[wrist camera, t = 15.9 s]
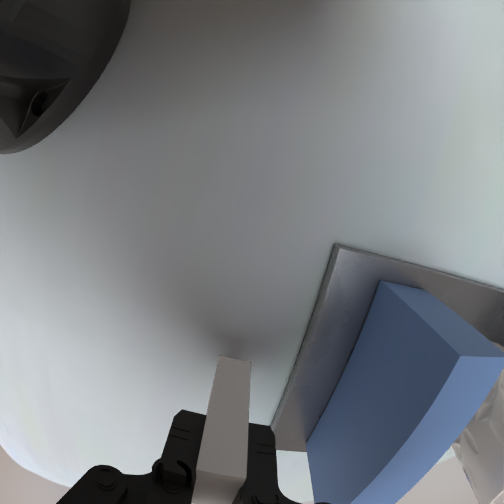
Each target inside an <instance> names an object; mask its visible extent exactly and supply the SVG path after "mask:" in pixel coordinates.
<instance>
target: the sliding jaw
mask: <svg viewBox="0 0 504 504" xmlns="http://www.w3.org/2000/svg"><path fill="white" fill-rule="evenodd" d="M503 368H504V352H502V351H501V350H500V349H499V348H498V347H497V346H495V345H494V344H493V343H492V342H491V341H490V340H488V339H487V338H486V337H485V336H484V335H482V334H481V333H480V332H479V331H477V330H476V329H475V328H474V327H473V326H471V325H470V324H469V323H468V322H466V321H465V320H464V319H463V318H461V317H460V316H459V315H458V314H456V313H455V312H454V311H452V310H451V309H450V308H449V307H447V306H446V305H445V304H443V303H442V302H441V301H439V300H438V299H437V298H436V297H434V296H433V295H432V294H430V293H429V292H428V291H426V290H422V289H418V288H413V287H409V286H404V285H400V284H396V283H391V282H387V281H382V280H380V282H379V285H378V288H377V291H376V294H375V297H374V299H373V302H372V305H371V307H370V310H369V313H368V315H367V318H366V321H365V323H364V326H363V328H362V331H361V333H360V335H359V338H358V340H357V343H356V345H355V347H354V350H353V352H352V354H351V357H350V359H349V361H348V363H347V365H346V368H345V370H344V372H343V374H342V376H341V378H340V381H339V383H338V385H337V387H336V389H335V391H334V393H333V395H332V397H331V399H330V401H329V403H328V405H327V407H326V409H325V411H324V412H323V414H322V416H321V418H320V420H319V422H318V424H317V425H316V427H315V429H314V431H313V433H312V434H311V436H310V438H309V440H308V441H307V443H306V449H307V456H308V462H309V469H310V475H311V482H312V489H313V496H314V502H315V503H318V502H327V503H331V504H395V503H396V502H397V501H398V500H399V499H401V498H402V497H403V496H404V495H405V494H406V493H407V492H408V491H409V490H410V489H411V488H412V487H413V486H414V485H415V484H416V483H417V482H418V481H419V480H420V479H421V478H422V477H423V476H424V475H425V474H426V473H427V472H428V471H429V470H430V469H431V468H432V467H433V466H434V465H435V464H436V462H437V461H438V460H439V459H440V458H441V457H442V456H443V455H444V453H445V452H446V451H447V450H448V449H449V447H450V446H451V445H452V444H453V443H454V441H455V440H456V439H457V438H458V436H459V435H460V434H461V432H462V431H463V430H464V428H465V427H466V426H467V424H468V423H469V422H470V420H471V419H472V417H473V416H474V415H475V413H476V412H477V410H478V409H479V407H480V406H481V404H482V403H483V401H484V400H485V398H486V397H487V395H488V394H489V392H490V390H491V389H492V387H493V385H494V384H495V382H496V380H497V379H498V377H499V375H500V373H501V372H502V370H503Z"/></svg>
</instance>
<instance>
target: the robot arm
mask: <svg viewBox="0 0 504 504" xmlns="http://www.w3.org/2000/svg"><path fill="white" fill-rule="evenodd" d="M130 1H131V0H0V154H9V153H16V152H19V151H22V150H25V149H27V148H29V147H31V146H33V145H35V144H37V143H38V142H40V141H41V140H43V139H44V138H45V137H47V136H48V135H49V134H50V133H52V132H53V131H54V130H55V129H56V128H57V127H58V126H60V125H61V124H62V123H63V122H64V121H65V120H66V119H67V118H68V117H69V115H70V114H71V113H72V112H73V111H74V110H75V109H76V108H77V106H78V105H79V104H80V103H81V102H82V100H83V99H84V98H85V97H86V95H87V94H88V93H89V91H90V90H91V89H92V87H93V86H94V84H95V83H96V81H97V80H98V79H99V77H100V75H101V74H102V72H103V71H104V69H105V68H106V66H107V64H108V62H109V61H110V59H111V57H112V55H113V53H114V51H115V49H116V47H117V45H118V43H119V41H120V38H121V36H122V34H123V31H124V28H125V25H126V22H127V19H128V14H129V9H130ZM250 373H251V362H248V361H243V360H238V359H233V358H228V357H224V356H220V355H219V359H218V364H217V368H216V372H215V377H214V381H213V386H212V390H211V395H210V399H209V404H208V409H207V414H206V415H203V414H199V413H195V412H190V411H186V410H183V409H182V410H181V411H180V412H179V413H178V414H177V415H175V416H174V419H173V422H172V425H171V428H170V431H169V434H168V437H167V440H166V444H165V447H164V450H163V453H162V456H161V458H160V459H158V460H156V461H155V463H154V464H153V466H152V472H150V473H148V474H144V475H129V474H123V473H121V472H120V471H119V470H118V469H116V468H114V467H112V466H109V465H98V466H94V467H92V468H91V469H89V470H88V471H87V472H86V473H85V474H84V475H83V476H82V478H81V479H80V480H79V481H78V482H77V483H76V484H75V485H74V486H73V487H72V488H71V489H70V490H69V491H68V492H67V493H66V494H65V495H64V496H63V497H62V498H61V499H60V500H59V501H58V502H57V503H56V504H191V503H193V504H301V503H298V502H294V501H292V500H290V499H288V498H287V497H285V496H284V495H283V494H282V493H281V491H280V489H279V487H278V478H277V459H276V448H275V446H276V441H275V434H274V433H273V431H272V429H271V427H270V426H267V425H260V424H253V423H249V399H250ZM315 504H331V503H327V502H318V503H315Z"/></svg>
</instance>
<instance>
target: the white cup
mask: <svg viewBox="0 0 504 504" xmlns="http://www.w3.org/2000/svg"><path fill="white" fill-rule="evenodd" d="M492 343H493V344H494V345H495V346H497V347H498V348H499V349H500V350H501V351H502V352H504V347H503V346H501V345H500V344H498V343H495V342H492ZM451 446H452V448H453V449H454V451H455V453H456V456H457V458H458V460H459V462H460V464H461V466H462V468H463V470H464V472H465V474H466V477H467V479H468V480H469V482H470V485H471V487H472V489H473V491H474V494H475V496H476V498H477V500H478V503H479V504H504V368H503V370H502V372H501V373H500V375H499V377H498V379H497V380H496V382H495V384H494V385H493V387H492V389H491V390H490V392H489V394H488V395H487V397H486V398H485V400H484V401H483V403H482V404H481V406H480V407H479V409H478V410H477V412H476V413H475V415H474V416H473V417H472V419H471V420H470V422H469V423H468V424H467V426H466V427H465V428H464V430H463V431H462V432H461V434H460V435H459V436H458V438H457V439H456V440H455V441H454V443H453V444H452V445H451Z"/></svg>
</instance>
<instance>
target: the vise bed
mask: <svg viewBox="0 0 504 504" xmlns="http://www.w3.org/2000/svg"><path fill="white" fill-rule="evenodd" d="M380 280H382V281H387V282H391V283H396V284H400V285H404V286H409V287H413V288H418V289H422V290H426V291H428V292H429V293H430V294H432V295H433V296H434V297H436V298H437V299H438V300H439V301H441V302H442V303H443V304H445V305H446V306H447V307H449V308H450V309H451V310H452V311H454V312H455V313H456V314H458V315H459V316H460V317H461V318H463V319H464V320H465V321H466V322H468V323H469V324H470V325H471V326H473V327H474V328H475V329H476V330H477V331H479V332H480V333H481V334H482V335H484V336H485V337H486V338H487V339H488V340H490V341H491V342H495V343H498V344H500V345H501V346H503V347H504V290H502V289H499V288H496V287H492V286H489V285H485V284H482V283H479V282H475V281H472V280H468V279H465V278H461V277H458V276H454V275H451V274H447V273H444V272H440V271H436V270H433V269H429V268H426V267H422V266H418V265H415V264H411V263H407V262H403V261H400V260H396V259H392V258H388V257H385V256H381V255H377V254H373V253H369V252H365V251H361V250H357V249H353V248H349V247H346V246H342V245H338V244H334V247H333V251H332V254H331V258H330V261H329V264H328V268H327V271H326V274H325V278H324V281H323V284H322V287H321V290H320V294H319V297H318V300H317V303H316V306H315V309H314V312H313V315H312V318H311V321H310V324H309V327H308V330H307V333H306V336H305V338H304V341H303V344H302V347H301V350H300V352H299V355H298V358H297V361H296V363H295V366H294V369H293V371H292V374H291V376H290V379H289V382H288V384H287V387H286V389H285V392H284V394H283V397H282V399H281V402H280V404H279V407H278V409H277V412H276V414H275V416H274V419H273V421H272V423H271V426H270V427H271V429H272V431H273V433H274V434H275V441H276V446H275V448H276V450H285V451H298V452H307V449H306V443H307V441H308V440H309V438H310V436H311V434H312V433H313V431H314V429H315V427H316V425H317V424H318V422H319V420H320V418H321V416H322V414H323V412H324V411H325V409H326V407H327V405H328V403H329V401H330V399H331V397H332V395H333V393H334V391H335V389H336V387H337V385H338V383H339V381H340V378H341V376H342V374H343V372H344V370H345V368H346V365H347V363H348V361H349V359H350V357H351V354H352V352H353V350H354V347H355V345H356V343H357V340H358V338H359V335H360V333H361V331H362V328H363V326H364V323H365V321H366V318H367V315H368V313H369V310H370V307H371V305H372V302H373V299H374V297H375V294H376V291H377V288H378V285H379V282H380Z"/></svg>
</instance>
